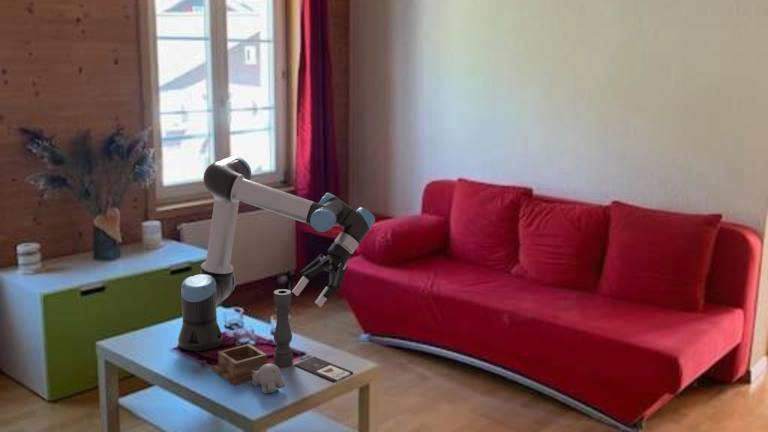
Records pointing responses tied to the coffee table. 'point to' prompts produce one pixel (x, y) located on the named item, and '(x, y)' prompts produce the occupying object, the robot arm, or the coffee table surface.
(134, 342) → the coffee table surface
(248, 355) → the open wooden box
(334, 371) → the chocolate bar
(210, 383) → the coffee table surface
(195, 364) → the coffee table surface
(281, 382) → the chubby cartoon animal
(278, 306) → the candle holder
